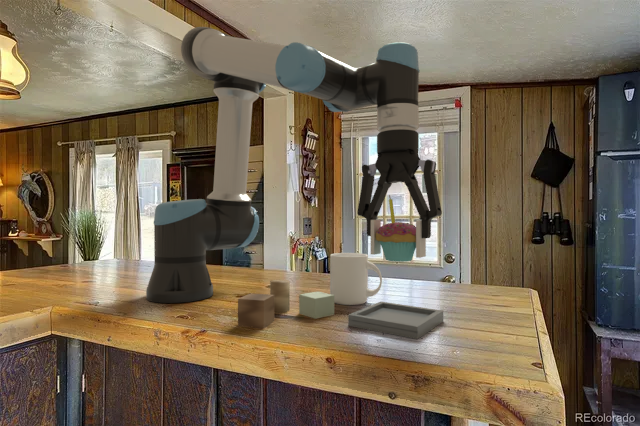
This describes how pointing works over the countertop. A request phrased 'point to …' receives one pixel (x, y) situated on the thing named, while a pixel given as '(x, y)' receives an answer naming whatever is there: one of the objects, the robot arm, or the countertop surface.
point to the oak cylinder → (280, 295)
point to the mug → (351, 278)
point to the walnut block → (255, 310)
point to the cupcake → (397, 239)
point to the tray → (396, 319)
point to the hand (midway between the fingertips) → (397, 255)
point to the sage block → (316, 304)
